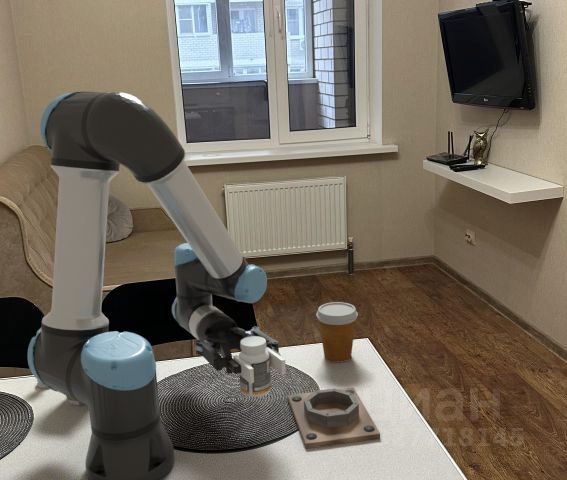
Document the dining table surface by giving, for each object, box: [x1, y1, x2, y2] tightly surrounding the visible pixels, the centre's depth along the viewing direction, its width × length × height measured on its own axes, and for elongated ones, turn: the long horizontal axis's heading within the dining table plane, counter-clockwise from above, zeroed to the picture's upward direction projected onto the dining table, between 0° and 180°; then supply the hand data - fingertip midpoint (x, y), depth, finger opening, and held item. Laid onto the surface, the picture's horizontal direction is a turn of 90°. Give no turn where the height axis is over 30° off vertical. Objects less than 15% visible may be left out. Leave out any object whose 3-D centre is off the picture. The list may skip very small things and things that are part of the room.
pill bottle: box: [238, 336, 272, 398], centre depth 119 cm, size 6×6×10 cm
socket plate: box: [287, 387, 381, 449], centre depth 127 cm, size 14×18×4 cm
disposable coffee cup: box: [315, 301, 358, 363], centre depth 152 cm, size 10×10×12 cm
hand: (267, 371), depth 114 cm, fingers closed on pill bottle, 6 cm apart
